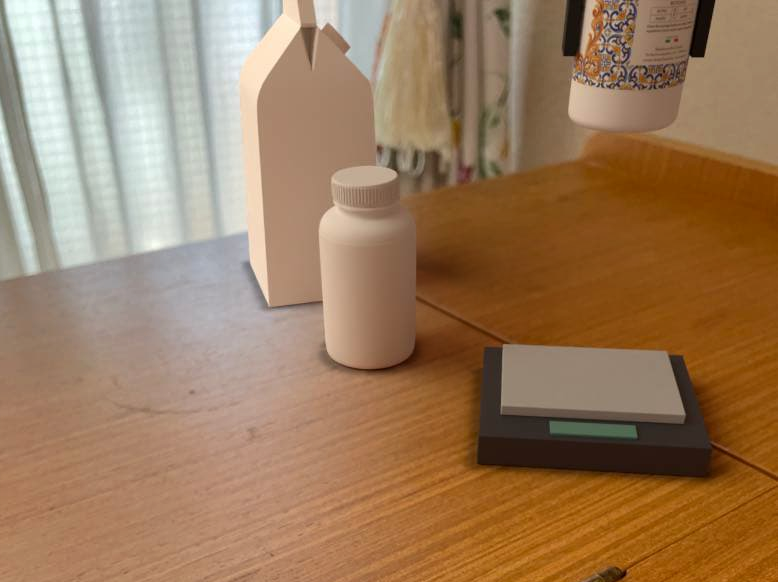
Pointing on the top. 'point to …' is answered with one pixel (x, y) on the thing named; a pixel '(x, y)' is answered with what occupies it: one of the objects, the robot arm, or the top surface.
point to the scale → (590, 411)
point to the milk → (298, 146)
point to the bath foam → (631, 63)
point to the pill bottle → (368, 270)
